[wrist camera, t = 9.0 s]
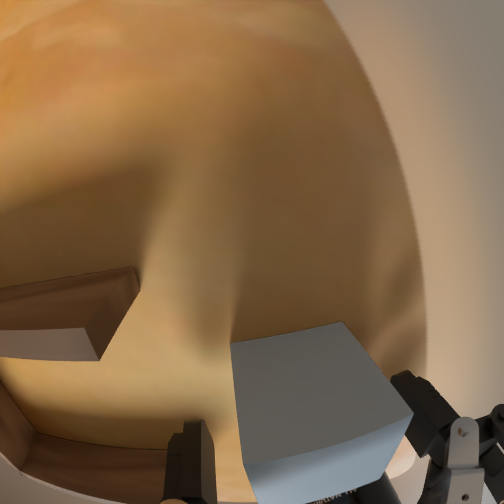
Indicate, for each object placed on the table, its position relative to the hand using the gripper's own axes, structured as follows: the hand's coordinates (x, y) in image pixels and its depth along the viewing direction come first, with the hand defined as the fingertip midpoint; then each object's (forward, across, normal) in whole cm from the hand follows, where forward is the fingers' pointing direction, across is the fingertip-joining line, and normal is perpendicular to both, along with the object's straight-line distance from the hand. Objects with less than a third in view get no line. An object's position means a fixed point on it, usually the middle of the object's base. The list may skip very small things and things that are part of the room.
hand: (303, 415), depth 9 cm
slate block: (+3, 0, 0) cm, 3 cm away
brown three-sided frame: (+3, +13, 0) cm, 13 cm away
